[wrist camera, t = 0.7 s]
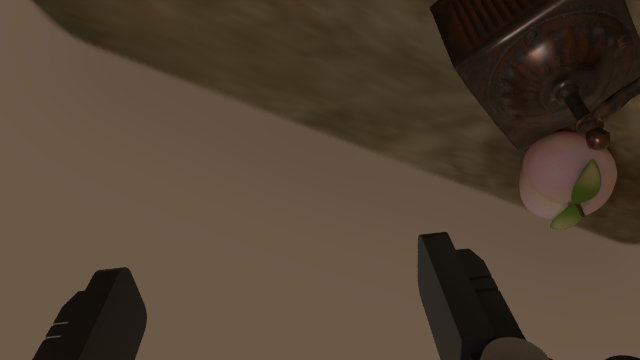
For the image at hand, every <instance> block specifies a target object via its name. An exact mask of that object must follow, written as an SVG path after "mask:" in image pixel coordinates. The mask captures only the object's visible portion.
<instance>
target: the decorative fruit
mask: <svg viewBox="0 0 640 360" xmlns="http://www.w3.org/2000/svg"><path fill="white" fill-rule="evenodd" d="M616 179H617V168H616V164H615V161H614V159H613V157H612V155H611V154H610V152H609V151H608V150H607V149H604V150H603V151H597V150H593V149H589V148H588V145H587V142H586V138H582V137H580V136H579V135H578V133H576V132H571V131H557V132H553V133H551V134H549V135H547V136H545V137H543V138H541V139H539V140H537V141H535V142H534V143H533V144H532V145H531V146H530V147H529V149H528V150H527V152H526V154H525V156H524V159H523V166H522V169H521V172H520V183H519V185H520V195H521V199H522V201H523V203H524V205H525V206H526V208H527V209H528V210H529V211H531V212H532V213H533V214H535V215H537V216H538V217H541V218H543V219H547V220H552V223H551V225H550V227H551V228H552V229H556V230H561V229H566V228H570V227H572V226H574V225H575V224H577V223H578V222H579V221H580V220H581V219H582V218H583V217H584V216H585V215H588V214H590V213H592V212H594V211H596V210H597V209H599V208H600V207H601V206H602V205H603V204H605V202H606V201H607V200H608V198H609V197H610V195H611V193H612V191H613V189H614V186H615V183H616Z"/></svg>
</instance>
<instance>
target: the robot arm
mask: <svg viewBox="0 0 640 360" xmlns="http://www.w3.org/2000/svg"><path fill="white" fill-rule="evenodd" d="M418 286H419V292H420V296H421V300H422V303H423V306H424V309H425V313H426V316H427V319H428V321H429V325H430V328H431V331H432V334H433V337H434V340H435V343H436V346H437V349H438V353H439V356H440V359H441V360H552V359H550V358H548V357H547V355H546V354H545V353H544V352H543V351H542V350H541V349H540V348H538V347H537V346H535V345H534V344H532V343H530V342H528V341H527V340H526V339H525V337H524V336H523V334H522V332H521V330H520V328H519V326H518V324H517V323H516V321H515V319H514V317H513V315H512V313H511V311H510V309H509V308H508V306H507V304H506V302H505V300H504V298H503V296H502V294H501V292H500V291H498V287H497V285H496V283H495V281H494V279H493V278H492V277H491V274H490V272H489V270H488V268H487V266H486V264H485V262H484V260H482V259H481V258H480V257H479V256H477V255H476V254H475V253H474V252H473V251H471V250H470V249H460V250H455V248H454V246H453V243H452V241H451V239H450V237H449V235H448V233H446V232H441V233H432V234H423V235H419V237H418ZM146 322H147V313H146V308H145V305H144V302H143V300H142V298H141V295H140V293H139V291H138V288H137V286H136V283H135V281H134V279H133V276H132V274H131V272H130V270H129V269H128V268H126V267H123V268H114V269H105V270H98V271H97V272H95V274H94V275H93V277H92V279H91V280H90V283H89V284H88V286H87V288H86V290H85V291H78V292H77V293H76V294H75V295H74V296H73V297H72V298H71V299H70V300H69V301H68V302H67V303H66V304H65V305H64V306H63V307H62V309H61V310H60V312H59V314H58V316H57V317H56V319H55V321H54V323H53V324H54V325H53V326H52V327H51V328H50V330H49V331H48V333H47V335H46V340H44V341H43V342H42V344H41V345H40V347H39V349H38V351H37V352H36V354H35V356H34V358H33V359H32V360H135V357H136V354H137V352H138V348H139V346H140V343H141V340H142V337H143V334H144V331H145V328H146ZM606 360H640V359H639V358H636V357H632V356H622V355H619V356H613V357H609V358H607V359H606Z"/></svg>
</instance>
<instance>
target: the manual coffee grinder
mask: <svg viewBox="0 0 640 360" xmlns="http://www.w3.org/2000/svg"><path fill="white" fill-rule="evenodd" d="M430 10H431V12H432V14H433V16H434V19H435V22H436V24H437V27H438V30H439V32H440V35H441V37H442V40H443V42H444V45H445V47H446V50H447V52H448V54H449V57H450V59H451V62H452V64H453V66H454V68H455V70H456V71H457V73H458V74H459V76H460V77H461V79H462V80H463V82H464V84H465V85H466V86H467V88H468V89H469V90H470V92H471V93H472V94H473V96H474V97H475V98H476V99H477V101H478V102H479V103H480V105H481V106H482V107H483V108H484V110H485V111H486V112H487V114H488V115H489V116H490V117H491V119H492V120H493V121H494V123H495V124H496V125H497V127H498V128H499V129H500V130H501V131H502V133H503V134H504V135H505V136H506V137H507V138H508V139H509V141H510V142H511V143H512V144H513V145H514V146H515V147H516V148H517V149H520V148H522V147H524V146H527V145H529V144H531V143H533V142H535V141H537V140H539V139H541V138H543V137H545V136H547V135H549V134H551V133H553V132H555V131H557V130H559V129H562V128H565V127H568V126H571V125H574V124H576V126H575V129H576V131H577V133H578V135H579V136H580V137H582V138H586V142H587V145H588V148H589V149H593V150H597V151H603V150H604V149H606V148H607V147H608V146H609V145H610V133H609V132H607V131H606V130H604V129H603V126H604V123H603V122H605V121H606V120H607V119H608V118H609V117H610V116H611V115H612V114H614V113H615V112H616V111H617V110H619V109H621V108H622V107H623V106H624V105H625V104H626V103H627V102H628V101H629V100H630V99H632V98H633V97H635V96H636V95H638V94H640V38H639V35H638V33H637V31H636V28H635V26H634V24H633V21H632V18H631V16H630V13H629V10H628V7H627V5H626V2H625V0H438V1H437V2H436V3H435V4H433V5H432V6H431V7H430Z"/></svg>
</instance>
